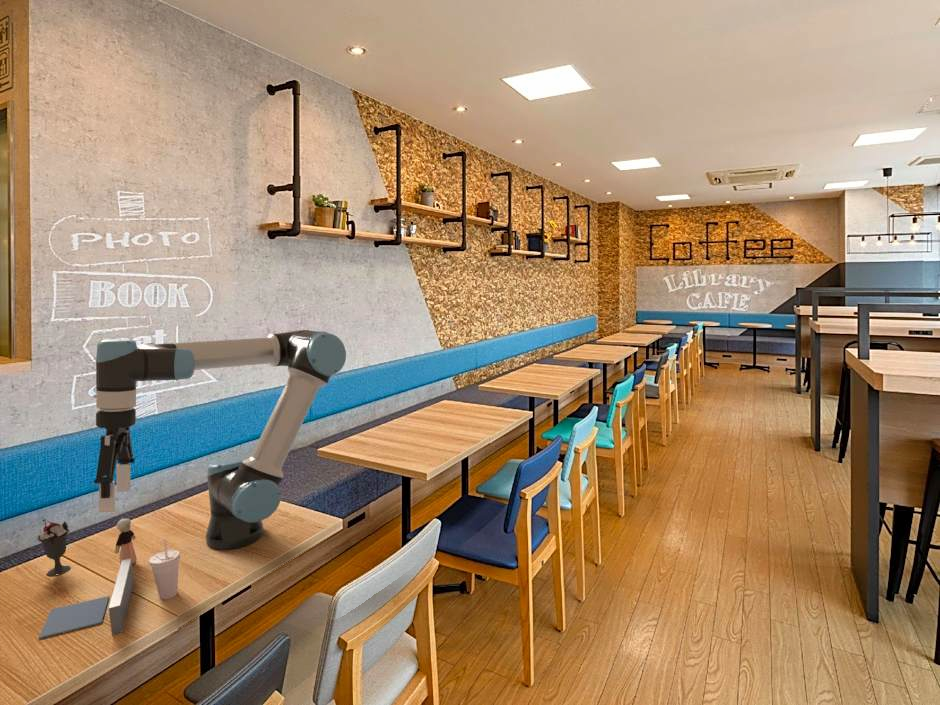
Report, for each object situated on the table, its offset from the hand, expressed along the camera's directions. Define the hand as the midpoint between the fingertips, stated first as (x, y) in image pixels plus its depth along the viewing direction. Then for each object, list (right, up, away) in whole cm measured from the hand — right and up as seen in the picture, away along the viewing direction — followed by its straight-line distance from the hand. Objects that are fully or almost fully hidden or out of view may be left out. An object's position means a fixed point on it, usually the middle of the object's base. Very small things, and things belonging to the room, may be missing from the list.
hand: (115, 501), depth 124 cm
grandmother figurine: (-9, -22, +19) cm, 31 cm away
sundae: (-26, -23, +17) cm, 38 cm away
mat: (-7, -25, -3) cm, 26 cm away
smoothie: (+9, -24, +5) cm, 26 cm away
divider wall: (+1, -24, +1) cm, 24 cm away
